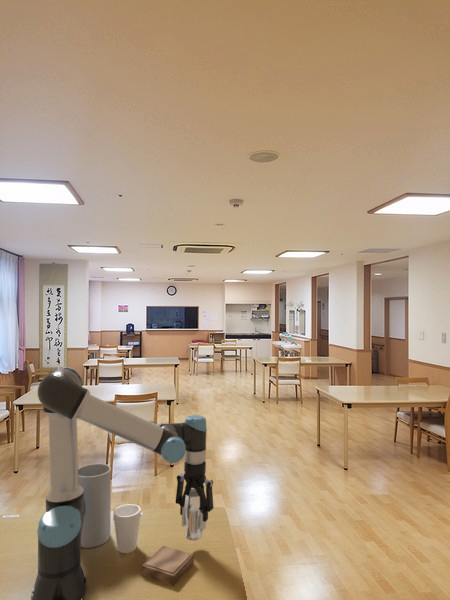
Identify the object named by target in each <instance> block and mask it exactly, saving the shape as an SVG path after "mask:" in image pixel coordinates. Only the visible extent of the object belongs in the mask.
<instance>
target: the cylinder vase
mask: <svg viewBox="0 0 450 600" xmlns="http://www.w3.org/2000/svg"><path fill="white" fill-rule="evenodd" d="M111 473H112V468H111V466H110V465H108V464H105V463H91V464H86V465H83V466H80V467H78V479H79V485H80V486H81V487H83V489H84V501H85V504H86V512H85V516H84V521H83V527H82V533H81V548H83V549H87V548H88V549H89V548H90V549H91V548H97V547H98V546H102V545H104V544H105V543H106V542H107V541H108V540H109V539H110V537H111V517H112V516H111V514H112V513H111V511H112V510H111V504H112V503H111V500H112V499H111V494H112V493H111V491H112V490H111V489H112V487H111V485H112V484H111V482H112V481H111V475H112V474H111Z"/></svg>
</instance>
